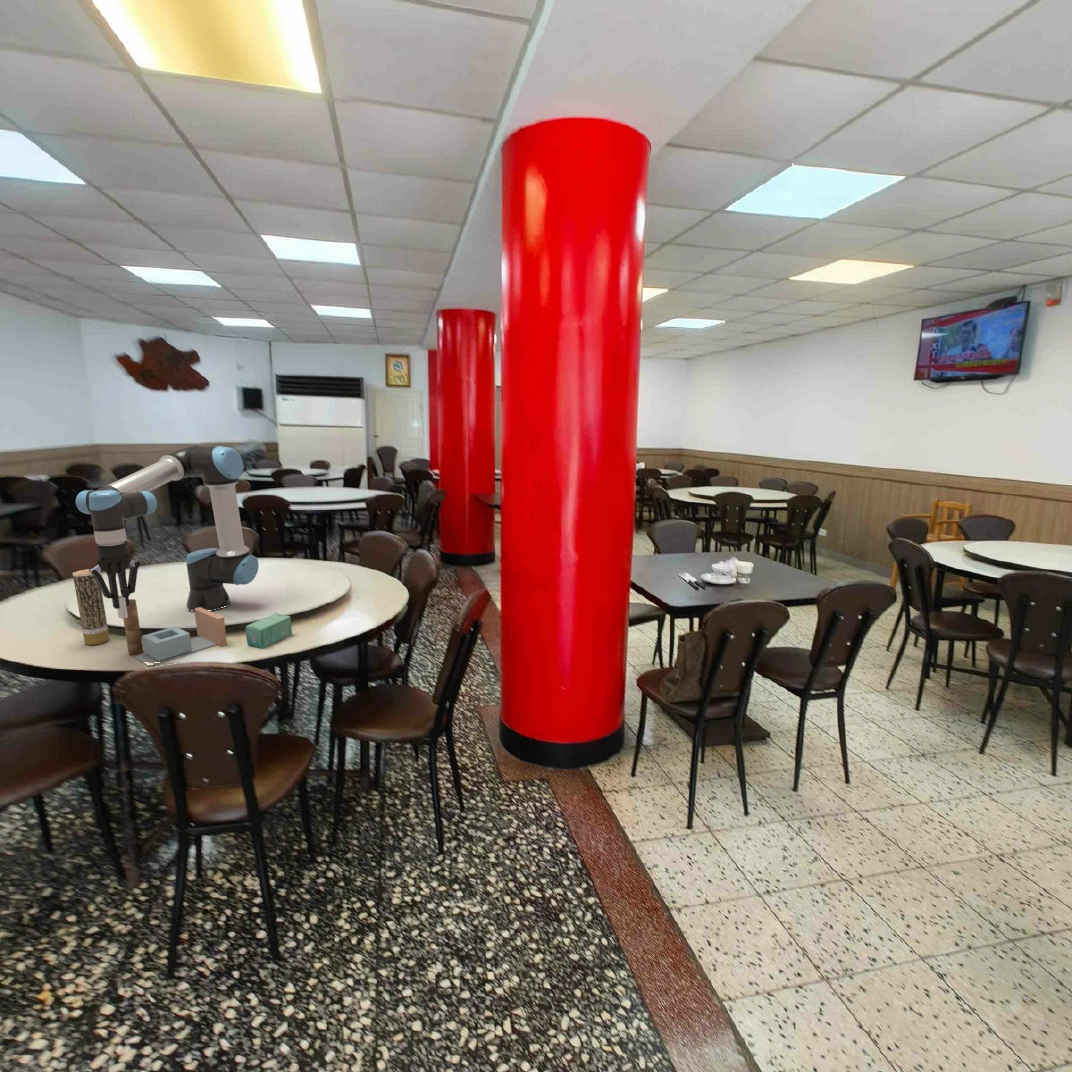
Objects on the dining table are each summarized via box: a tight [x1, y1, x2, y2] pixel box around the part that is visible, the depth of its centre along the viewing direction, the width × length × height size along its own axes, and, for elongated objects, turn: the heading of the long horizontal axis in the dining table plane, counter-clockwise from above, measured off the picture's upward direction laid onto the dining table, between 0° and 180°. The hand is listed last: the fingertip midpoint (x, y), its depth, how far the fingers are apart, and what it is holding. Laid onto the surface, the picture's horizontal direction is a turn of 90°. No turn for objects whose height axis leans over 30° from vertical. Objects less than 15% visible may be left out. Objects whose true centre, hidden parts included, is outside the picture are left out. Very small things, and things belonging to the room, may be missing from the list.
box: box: [245, 612, 293, 650], centre depth 202 cm, size 7×14×8 cm, turn 158°
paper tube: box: [72, 568, 110, 646], centre depth 196 cm, size 7×7×25 cm
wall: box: [194, 607, 228, 648], centre depth 201 cm, size 2×16×10 cm, turn 55°
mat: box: [133, 636, 218, 668], centre depth 193 cm, size 23×11×1 cm, turn 145°
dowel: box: [122, 598, 144, 657], centre depth 189 cm, size 4×4×18 cm
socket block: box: [141, 625, 192, 661], centre depth 190 cm, size 10×10×6 cm
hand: (123, 617), depth 178 cm, fingers closed
